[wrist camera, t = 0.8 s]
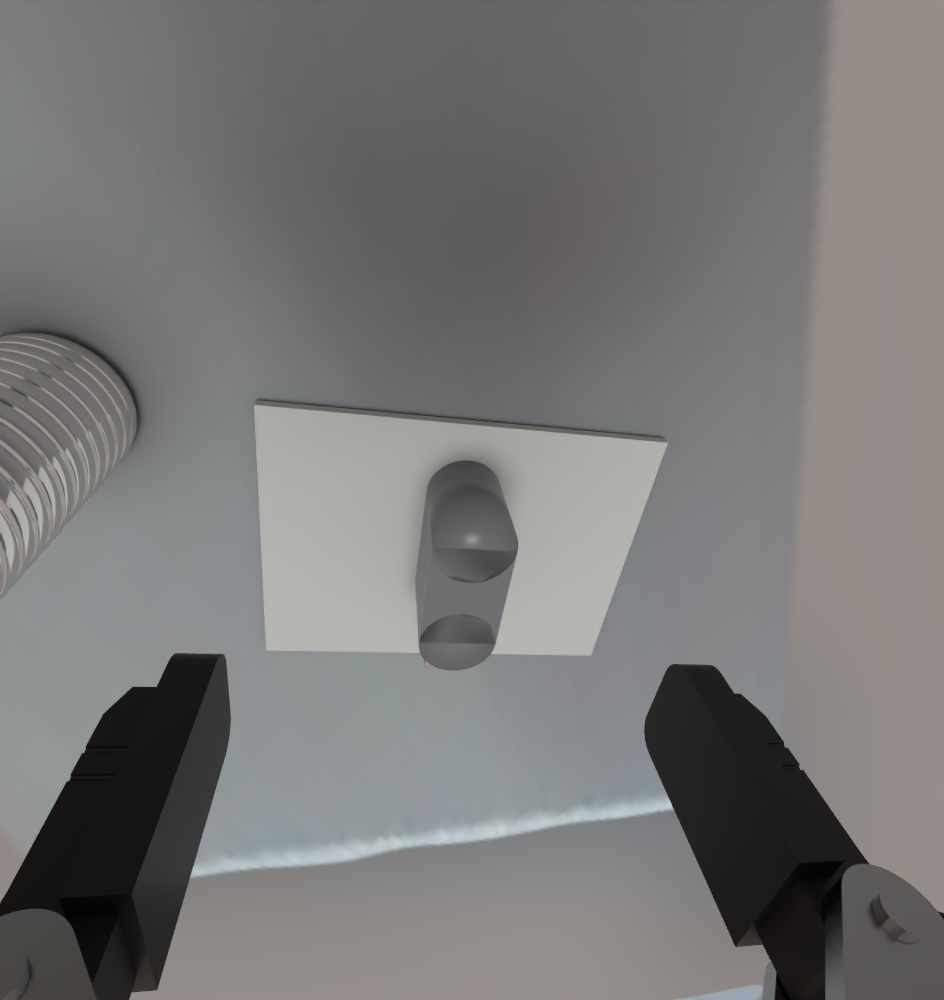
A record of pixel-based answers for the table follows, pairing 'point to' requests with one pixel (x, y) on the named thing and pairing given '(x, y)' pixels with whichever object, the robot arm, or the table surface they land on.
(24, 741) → the table surface
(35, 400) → the water bottle
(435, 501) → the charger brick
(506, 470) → the rubber mat
